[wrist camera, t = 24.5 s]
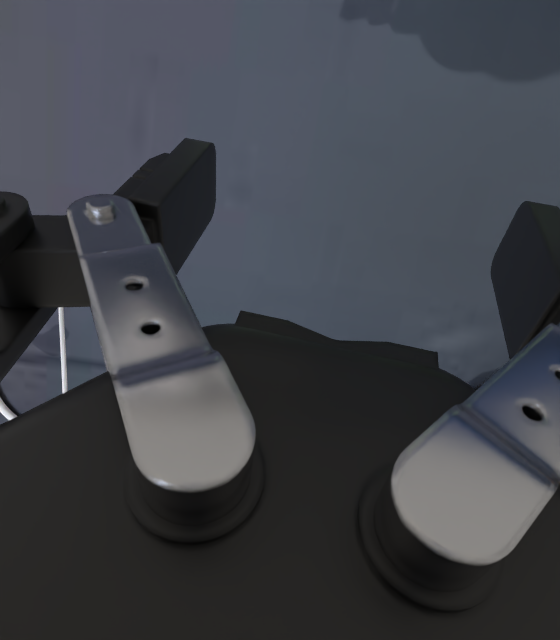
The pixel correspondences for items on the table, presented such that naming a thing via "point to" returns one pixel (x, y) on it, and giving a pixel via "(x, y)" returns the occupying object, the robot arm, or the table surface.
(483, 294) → the table surface
